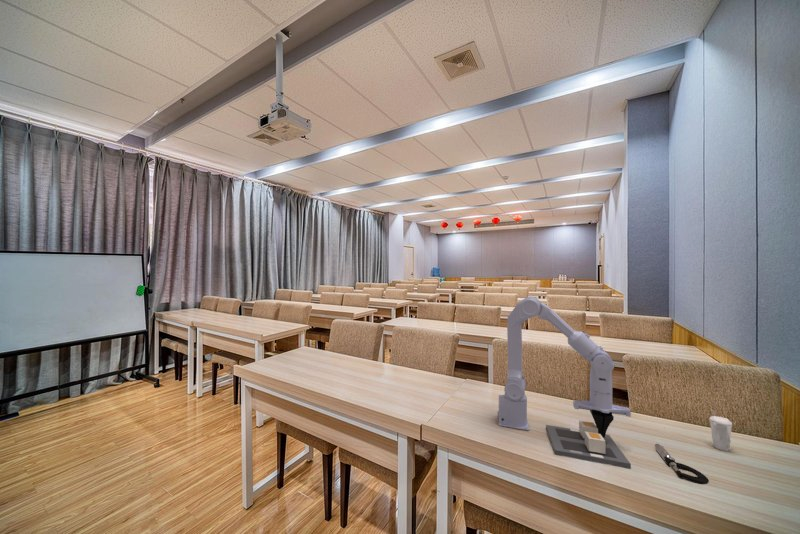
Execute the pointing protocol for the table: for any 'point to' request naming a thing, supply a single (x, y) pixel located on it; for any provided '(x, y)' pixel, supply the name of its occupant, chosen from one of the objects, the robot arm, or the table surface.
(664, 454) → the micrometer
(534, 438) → the table surface
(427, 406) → the table surface
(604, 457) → the switch plate
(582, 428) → the white orange block
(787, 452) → the table surface
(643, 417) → the table surface
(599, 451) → the white orange cube
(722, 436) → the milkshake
